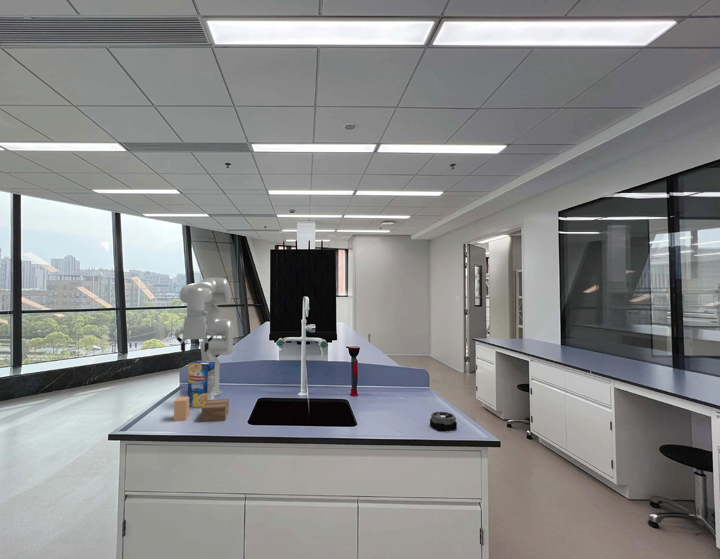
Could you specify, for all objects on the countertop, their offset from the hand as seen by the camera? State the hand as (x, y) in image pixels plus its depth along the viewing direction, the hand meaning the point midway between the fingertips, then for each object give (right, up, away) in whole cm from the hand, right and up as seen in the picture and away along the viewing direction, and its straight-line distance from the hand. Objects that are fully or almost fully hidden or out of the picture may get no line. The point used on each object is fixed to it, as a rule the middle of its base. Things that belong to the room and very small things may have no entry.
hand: (194, 351), depth 184 cm
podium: (+8, -31, +4) cm, 33 cm away
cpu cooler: (+113, -32, -8) cm, 117 cm away
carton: (-6, -31, +1) cm, 32 cm away
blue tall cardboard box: (-6, -32, +22) cm, 39 cm away
